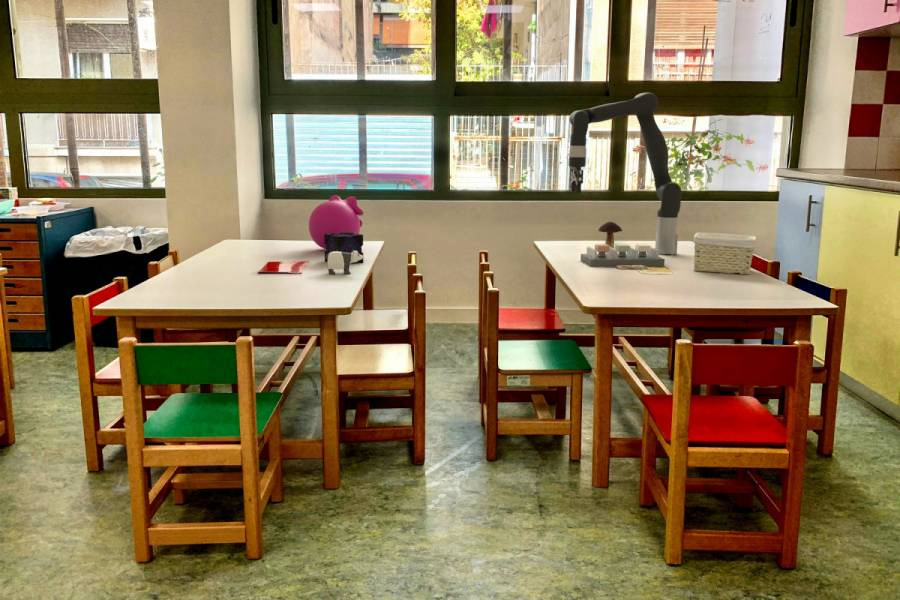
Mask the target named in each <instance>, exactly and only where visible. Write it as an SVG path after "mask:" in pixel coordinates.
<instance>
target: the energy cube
mask: <svg viewBox="0 0 900 600" xmlns="http://www.w3.org/2000/svg"><path fill="white" fill-rule="evenodd" d="M324 244H325V245H326V249H325V251H324V262H326V263H328V259H326V255H327V254H329V253H330V252H335V251H338V252H347V253H351V252H352V250H354V251H357V252H358V253H359V254H360V255H362V256H364V252H363V251H362V250H363V249H362V248H363V246H364V234H361V233H359V234H354V233H352V232H340V234H335V233H326V234H324ZM352 264H364V257H363V258H362V259H361V260H359V261H357V262H353V263H352Z"/></svg>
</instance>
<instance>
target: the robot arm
mask: <svg viewBox="0 0 900 600" xmlns="http://www.w3.org/2000/svg"><path fill="white" fill-rule="evenodd" d="M658 106H659V98H658V97H657V95H655V93H652V92H642V93H638V94H636V95H635V96H634V98H631V99H628V100H624V101H618V102H612V103H611V102H610V103H606V104H602V105H597V106H594V107H591V108H585V109H579V110H574V111H573V112H572V113H571V114H570V115H569V123H570V125H571V126H572V127H573V128H572V133H570V137H569V139H570V140H569V141H570V142H569V143H570V144H569V153H568V166H569V168H570V167H571V168H570V176H569V182H570V184H571V186H570V187H571V188H570V189H571V191H570V192H574V193H576V194H581V192H582V184H584V169H582V168H585V167H586V162H587V148H586V147H587V146H586V145H587V134H588V128H589V125H590V124H595V123H596V124H597V123H602V122H605V121H606V122H607V121H610V120H614V119H617V118H620V117H624V116H628V115H636V118H637V121H638V124H639V127H640V131H641V135H642V139H643V143H644V147H645V151H646V155H647V157H648V158H647V159H648V161H649V165H650V168H651V171H652V174H653V180H654V185H655V192H656V195H657V198H658V199H659V201H661V202H660V203H661V204H660V208H659V209H657V210H658V211H657V217H656V229H655V231H656V232H655V243H654V245H655V246H654V247H655V248H654V249H657V250H659V255H665V254H671V255H677V254H678V253H677V252H678V244H679V241H678V239H679V233H677V230H678V217H679V212H680V210H681V203H682V202H681V201H682V188H681V186H680V185H679V184H678V183H676V182H673V181H672V179H671V176H670V172H669V149H668V145H667V141H666V139H665V137H664V135H663V133H662V131H661V129H660V128H659V125H658V124H657V123H656V120H655V116H654V115H655V114H654V111H655V110H657V108H658Z"/></svg>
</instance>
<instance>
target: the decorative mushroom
mask: <svg viewBox="0 0 900 600" xmlns="http://www.w3.org/2000/svg"><path fill="white" fill-rule="evenodd" d="M597 231H598V232H600V233H601V232H602V233H606V236H605V243H604V244H607V245H609V246H610V247H611V248H614V249H615V238H614V236H615V235H614V234H615V233H619V232H623V229H622V227H621V226H619V224H617V223H616V222H613V221H608V222H605V223H604V224H602V225H601V226H600V227H599V228H598V230H597ZM605 254H607V252H605Z"/></svg>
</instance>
